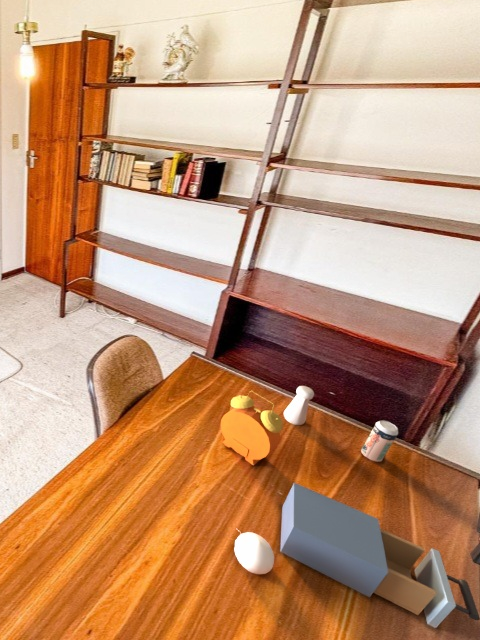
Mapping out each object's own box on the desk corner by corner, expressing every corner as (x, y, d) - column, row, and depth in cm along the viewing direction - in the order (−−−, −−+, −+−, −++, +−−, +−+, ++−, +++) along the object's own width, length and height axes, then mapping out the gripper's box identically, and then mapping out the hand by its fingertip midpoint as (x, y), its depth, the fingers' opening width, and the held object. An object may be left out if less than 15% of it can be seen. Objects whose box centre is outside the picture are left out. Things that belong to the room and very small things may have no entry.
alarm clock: (270, 463, 108) (295, 408, 100) (259, 473, 105) (283, 417, 97) (225, 431, 118) (244, 378, 110) (213, 440, 115) (231, 386, 106)
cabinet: (360, 546, 89) (378, 519, 85) (367, 600, 79) (388, 572, 75) (281, 509, 96) (294, 482, 92) (278, 554, 87) (293, 526, 82)
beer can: (360, 447, 114) (378, 416, 109) (381, 457, 111) (400, 426, 106) (358, 456, 111) (375, 425, 106) (379, 467, 108) (398, 435, 103)
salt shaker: (286, 427, 121) (300, 394, 115) (278, 413, 126) (291, 381, 120) (306, 430, 120) (322, 397, 114) (298, 416, 125) (312, 384, 119)
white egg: (276, 579, 82) (288, 558, 79) (244, 584, 81) (254, 563, 78) (246, 531, 91) (255, 511, 88) (216, 535, 90) (224, 514, 87)
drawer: (451, 587, 81) (471, 565, 78) (469, 646, 72) (493, 623, 69) (337, 534, 90) (351, 512, 87) (341, 581, 81) (356, 558, 78)
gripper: (590, 547, 58) (523, 610, 66) (547, 480, 68) (493, 542, 76) (517, 519, 62) (462, 583, 69) (486, 460, 72) (441, 521, 79)
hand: (478, 561), depth 72 cm, fingers closed
